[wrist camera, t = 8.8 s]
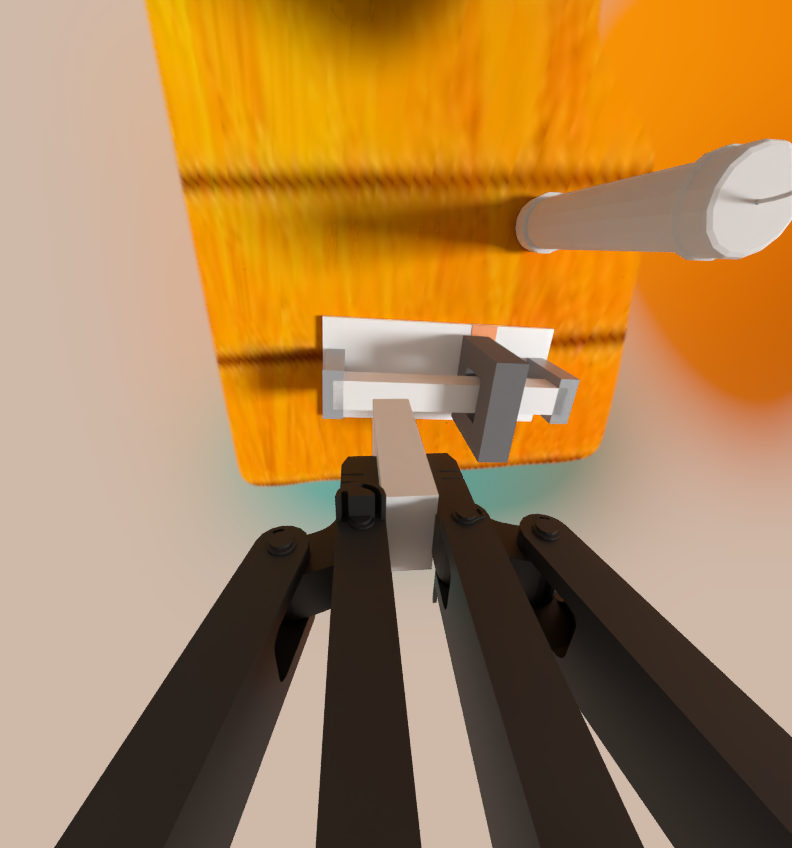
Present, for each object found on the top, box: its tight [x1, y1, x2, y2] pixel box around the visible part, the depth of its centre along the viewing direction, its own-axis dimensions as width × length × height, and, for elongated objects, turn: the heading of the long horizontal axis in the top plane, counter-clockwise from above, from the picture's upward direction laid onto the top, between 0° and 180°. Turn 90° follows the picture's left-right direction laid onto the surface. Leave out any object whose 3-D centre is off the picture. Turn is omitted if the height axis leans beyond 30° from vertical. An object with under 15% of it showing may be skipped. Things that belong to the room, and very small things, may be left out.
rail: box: [322, 315, 579, 424], centre depth 42 cm, size 12×27×9 cm, turn 86°
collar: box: [451, 335, 530, 462], centre depth 40 cm, size 10×3×11 cm, turn 176°
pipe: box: [515, 139, 792, 261], centre depth 27 cm, size 6×6×30 cm
